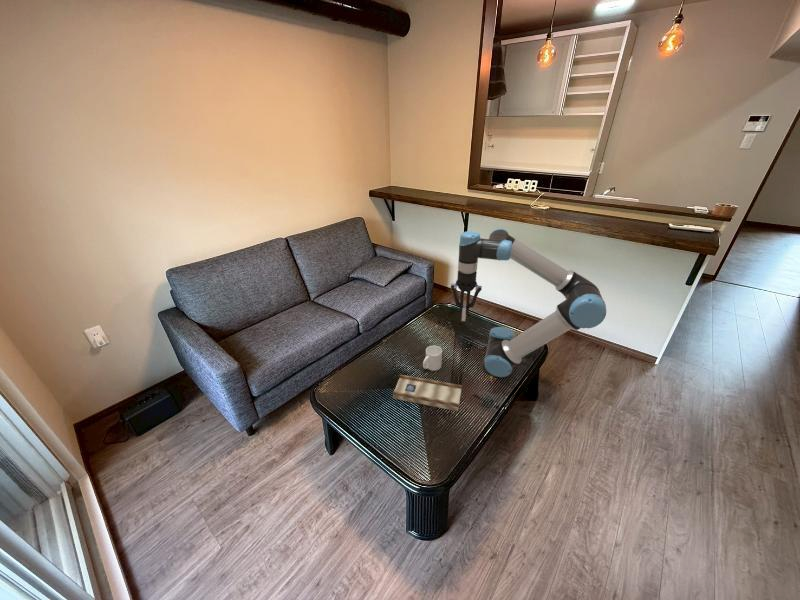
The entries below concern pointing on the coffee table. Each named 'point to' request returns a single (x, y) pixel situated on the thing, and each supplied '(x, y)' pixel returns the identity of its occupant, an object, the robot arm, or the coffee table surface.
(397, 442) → the coffee table surface
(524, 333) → the robot arm
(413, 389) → the ball
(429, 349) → the mug
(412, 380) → the tray
